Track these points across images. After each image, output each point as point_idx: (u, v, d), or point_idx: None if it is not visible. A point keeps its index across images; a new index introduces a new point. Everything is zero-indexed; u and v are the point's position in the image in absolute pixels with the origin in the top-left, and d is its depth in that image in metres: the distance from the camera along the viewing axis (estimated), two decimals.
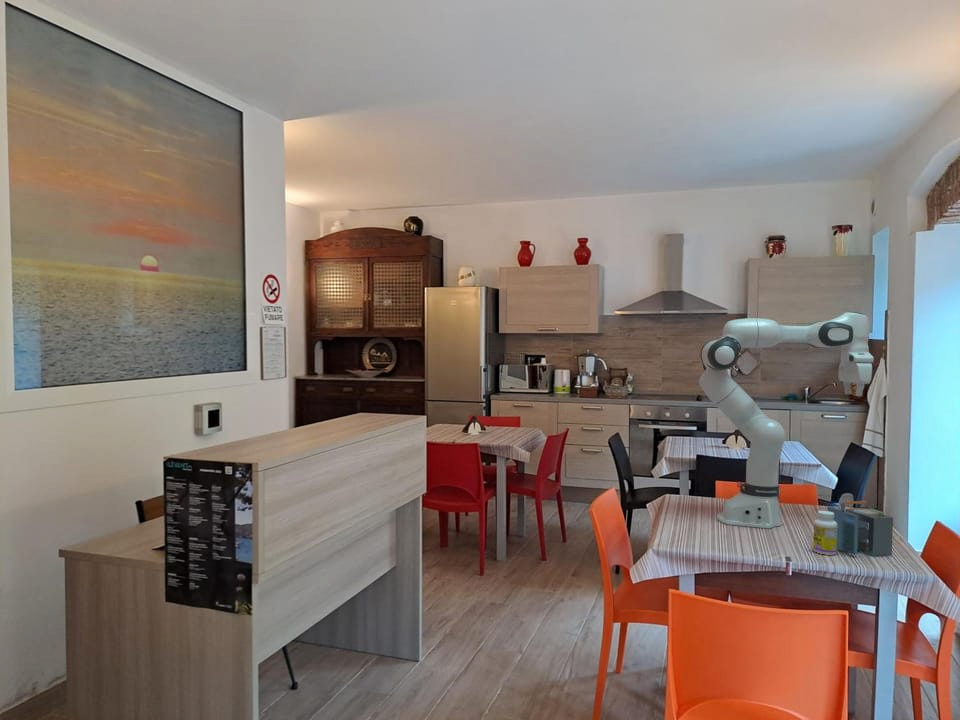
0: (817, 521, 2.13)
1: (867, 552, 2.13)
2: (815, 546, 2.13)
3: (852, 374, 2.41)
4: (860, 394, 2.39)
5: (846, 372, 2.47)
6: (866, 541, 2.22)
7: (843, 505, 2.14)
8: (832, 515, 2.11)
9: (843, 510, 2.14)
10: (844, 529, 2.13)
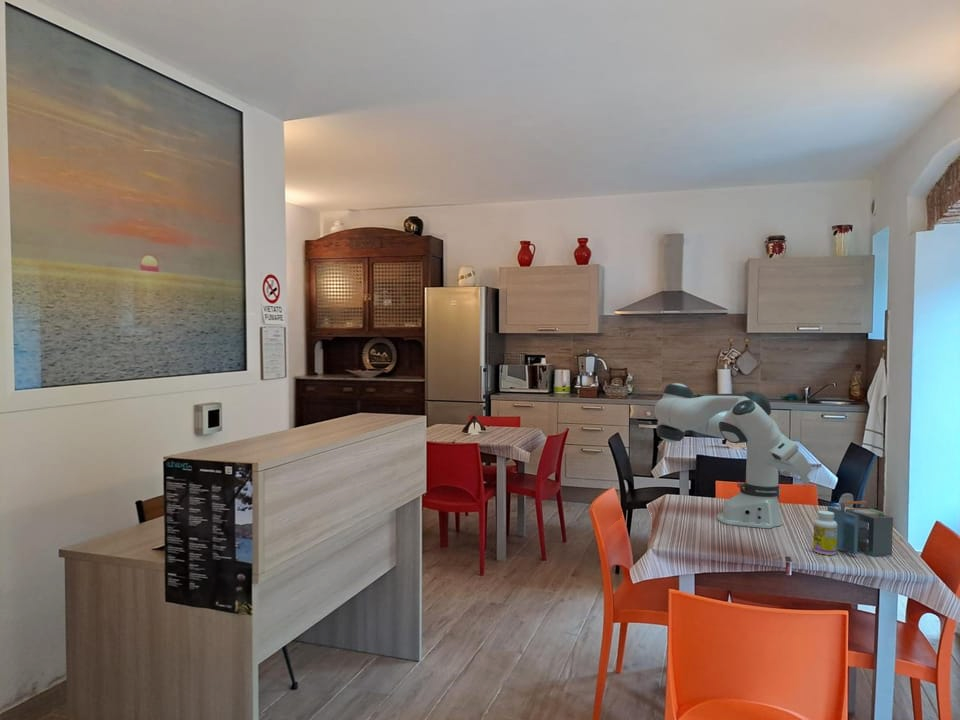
0: (817, 521, 2.13)
1: (867, 552, 2.13)
2: (815, 546, 2.13)
3: (785, 466, 2.05)
4: (807, 480, 2.05)
5: (774, 461, 2.11)
6: (866, 541, 2.22)
7: (843, 505, 2.14)
8: (832, 515, 2.11)
9: (843, 510, 2.14)
10: (844, 529, 2.13)
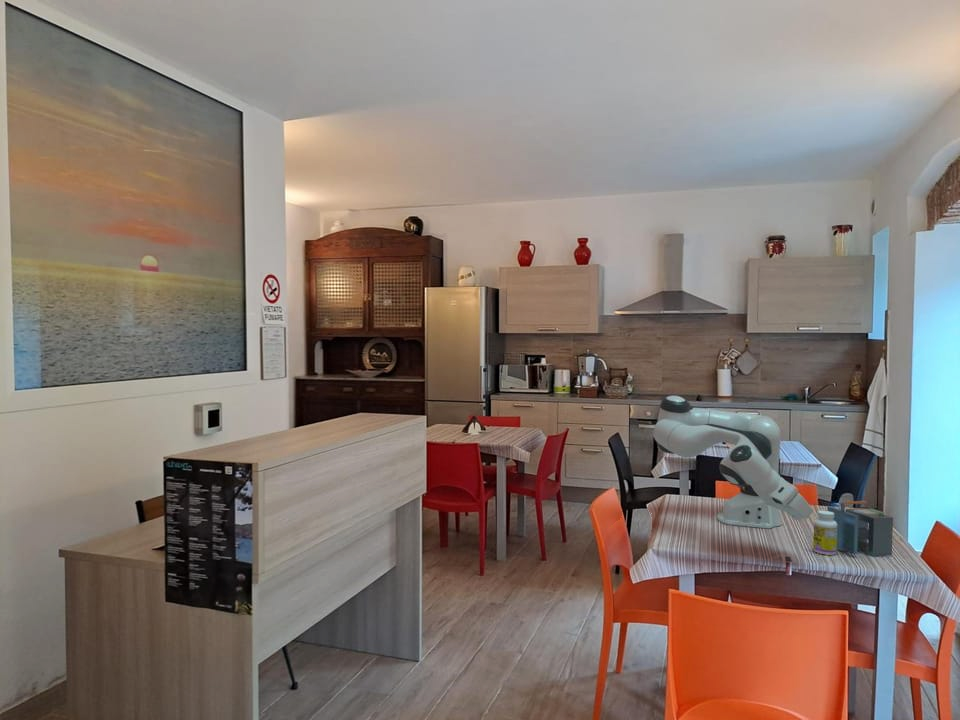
0: (817, 521, 2.13)
1: (867, 552, 2.13)
2: (815, 546, 2.13)
3: (787, 508, 2.06)
4: (801, 517, 2.09)
5: (775, 503, 2.11)
6: (866, 541, 2.22)
7: (843, 505, 2.14)
8: (832, 515, 2.11)
9: (843, 510, 2.14)
10: (844, 529, 2.13)
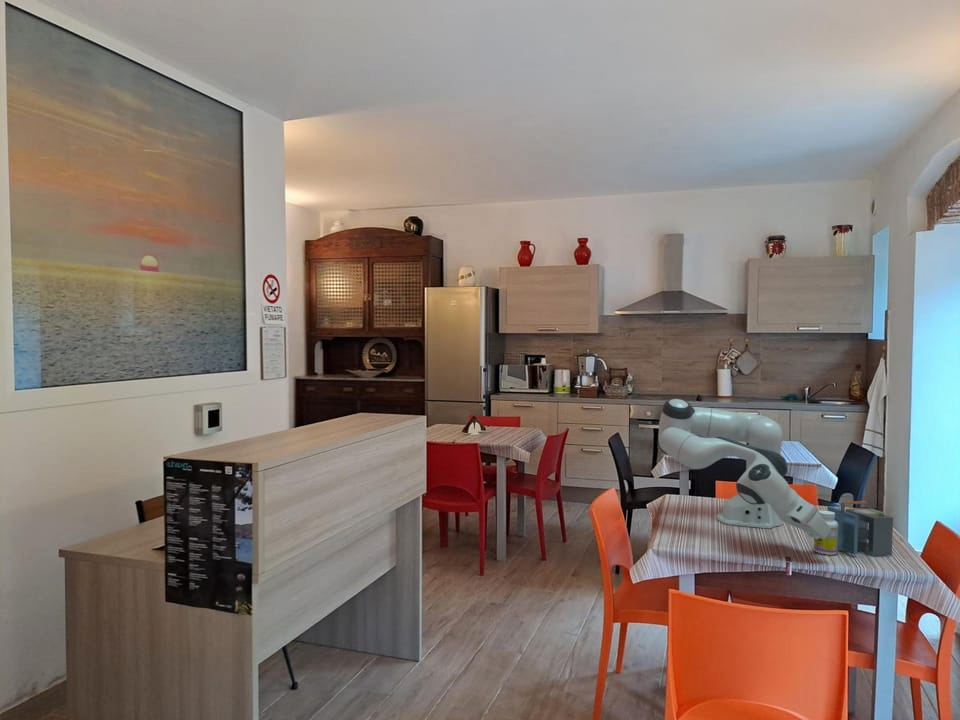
0: None
1: (867, 552, 2.13)
2: (816, 546, 2.13)
3: (805, 527, 2.08)
4: (818, 536, 2.11)
5: (792, 521, 2.13)
6: (866, 541, 2.22)
7: (843, 505, 2.14)
8: (833, 515, 2.11)
9: (843, 510, 2.14)
10: (844, 529, 2.13)
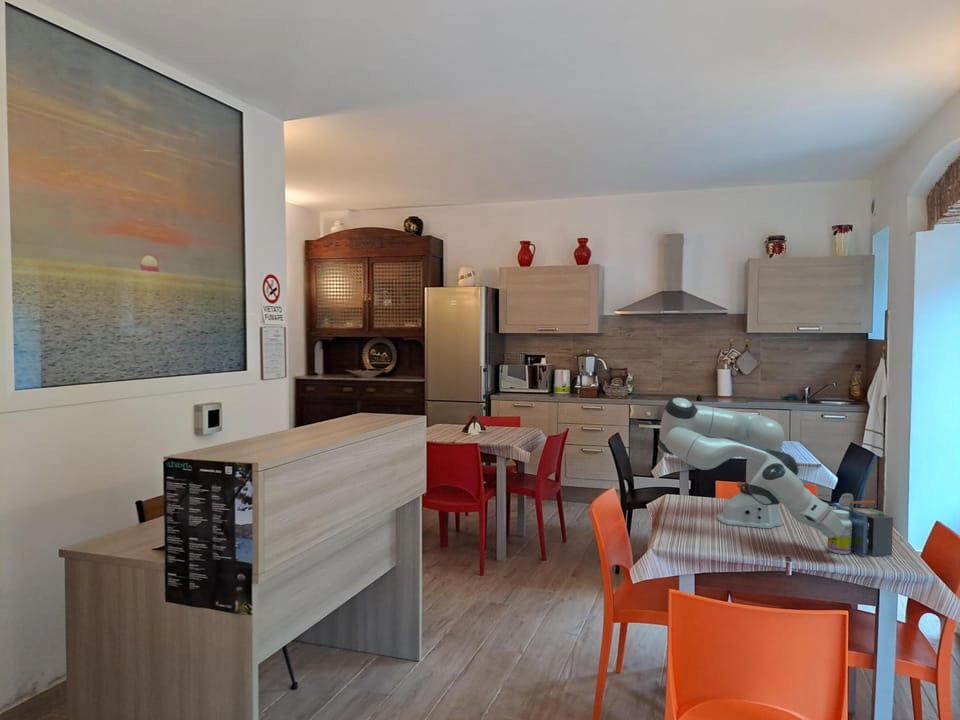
0: None
1: (867, 552, 2.13)
2: (830, 545, 2.15)
3: (819, 526, 2.09)
4: (832, 534, 2.12)
5: (806, 520, 2.14)
6: None
7: (852, 505, 2.15)
8: (847, 514, 2.13)
9: (852, 510, 2.15)
10: (853, 529, 2.14)
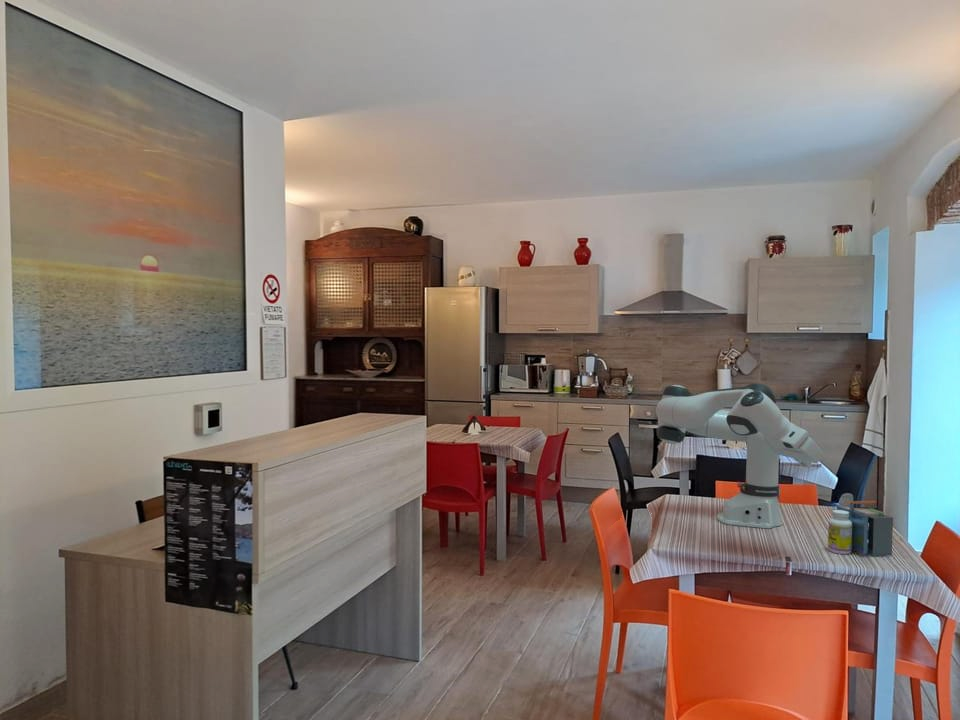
0: (832, 520, 2.15)
1: (867, 552, 2.13)
2: (830, 545, 2.15)
3: (797, 454, 2.07)
4: (810, 464, 2.10)
5: (784, 450, 2.12)
6: None
7: (852, 505, 2.15)
8: (847, 514, 2.13)
9: (852, 510, 2.15)
10: (853, 529, 2.14)
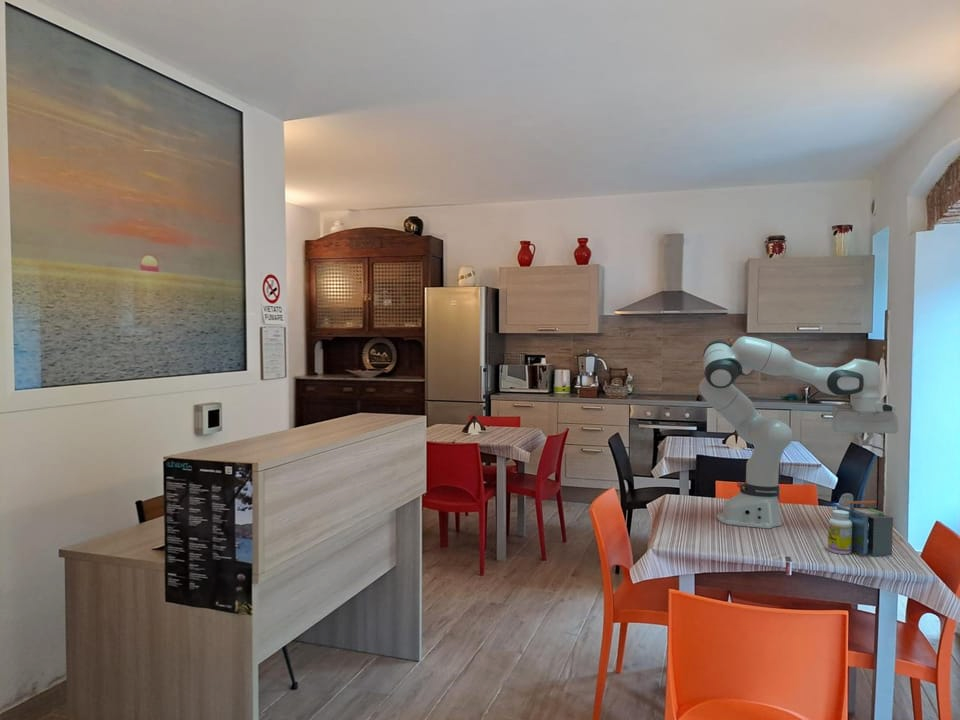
0: (832, 520, 2.15)
1: (867, 552, 2.13)
2: (830, 545, 2.15)
3: (877, 424, 2.30)
4: None
5: (860, 422, 2.31)
6: None
7: (852, 505, 2.15)
8: (847, 514, 2.13)
9: (852, 510, 2.15)
10: (853, 529, 2.14)
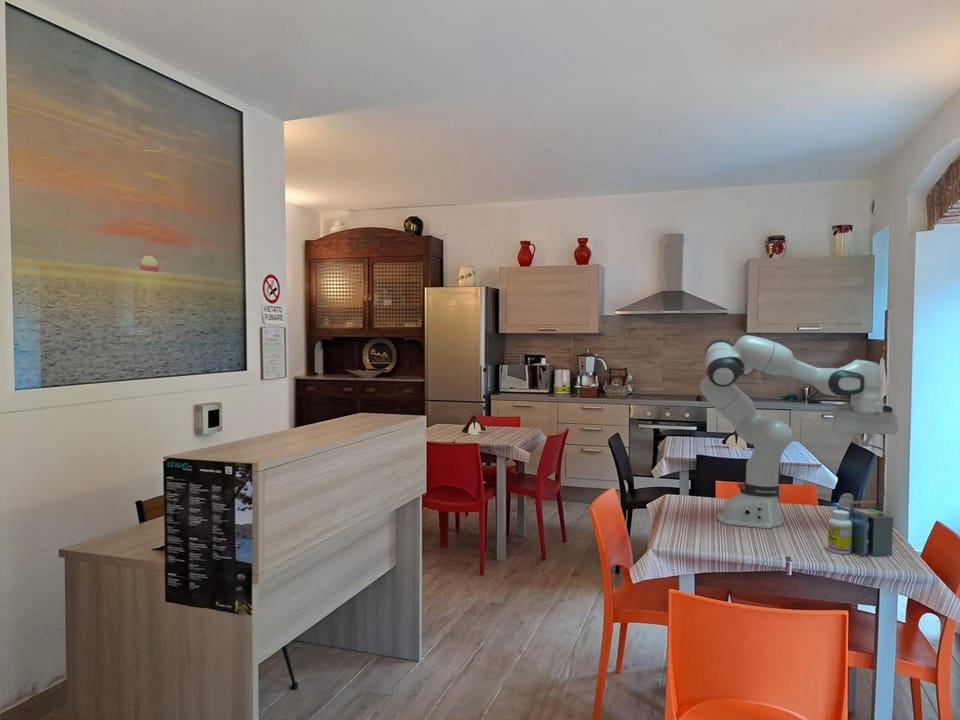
0: (832, 520, 2.15)
1: (867, 552, 2.13)
2: (830, 545, 2.15)
3: (877, 425, 2.31)
4: None
5: (860, 423, 2.32)
6: None
7: (852, 505, 2.15)
8: (847, 514, 2.13)
9: (852, 510, 2.15)
10: (853, 529, 2.14)
